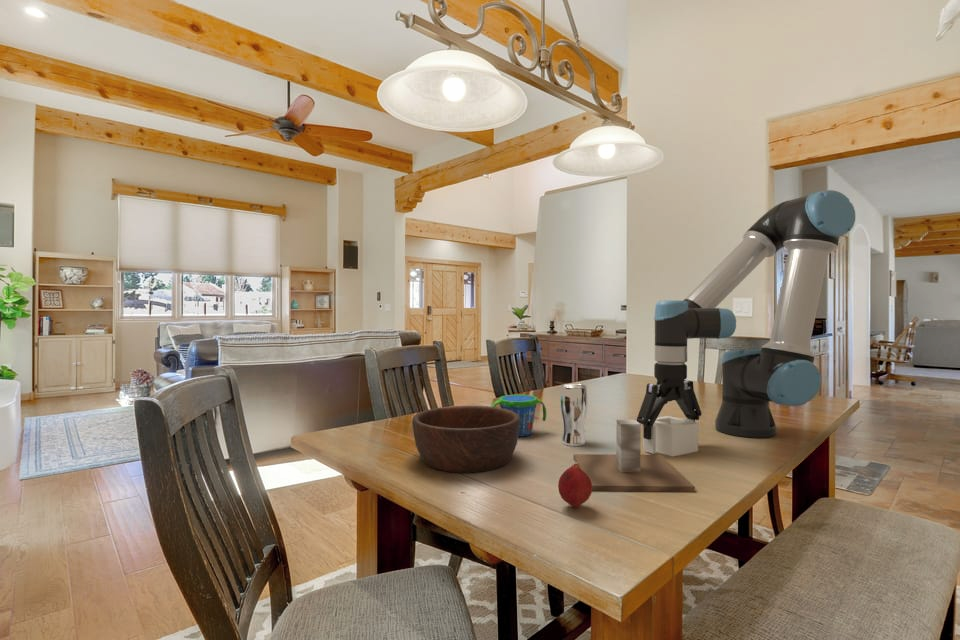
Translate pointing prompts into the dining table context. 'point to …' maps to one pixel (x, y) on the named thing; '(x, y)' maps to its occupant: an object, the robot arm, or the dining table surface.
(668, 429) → the white square sleeve
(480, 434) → the wooden bowl
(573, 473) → the onion
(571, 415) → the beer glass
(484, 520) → the dining table surface
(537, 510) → the dining table surface
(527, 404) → the snack cup
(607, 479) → the post base
